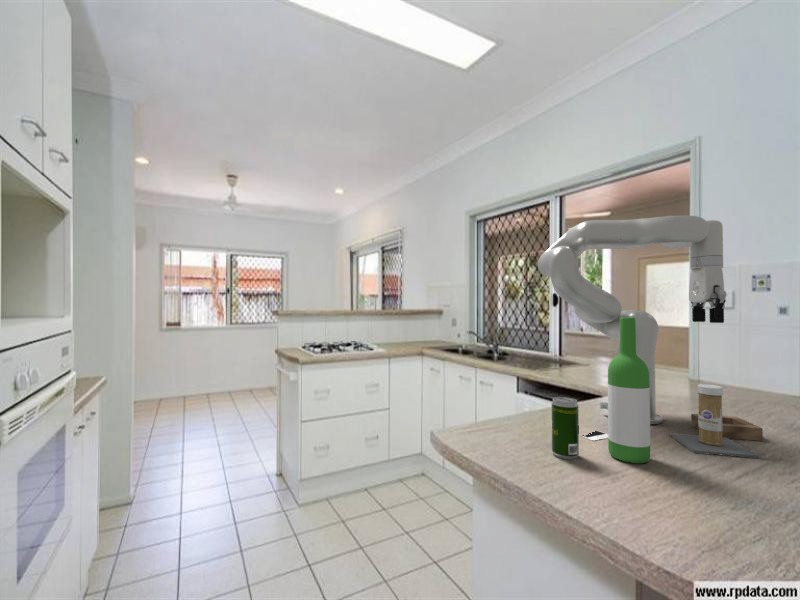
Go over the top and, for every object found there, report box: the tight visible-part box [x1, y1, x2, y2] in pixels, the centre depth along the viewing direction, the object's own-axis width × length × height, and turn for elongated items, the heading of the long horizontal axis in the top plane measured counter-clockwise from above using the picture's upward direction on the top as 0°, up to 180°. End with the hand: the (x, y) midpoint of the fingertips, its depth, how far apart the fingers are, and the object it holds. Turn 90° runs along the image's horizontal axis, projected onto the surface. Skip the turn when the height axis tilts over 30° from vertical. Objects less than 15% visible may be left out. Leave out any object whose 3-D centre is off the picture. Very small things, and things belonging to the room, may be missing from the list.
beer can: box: [551, 396, 580, 460], centre depth 83 cm, size 5×5×12 cm
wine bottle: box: [607, 318, 651, 464], centre depth 82 cm, size 8×8×30 cm
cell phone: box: [582, 430, 608, 442], centre depth 100 cm, size 8×16×1 cm, turn 25°
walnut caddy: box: [690, 413, 764, 441], centre depth 99 cm, size 10×10×3 cm
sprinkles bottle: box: [697, 383, 724, 446], centre depth 89 cm, size 5×5×13 cm
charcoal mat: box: [669, 433, 760, 459], centre depth 89 cm, size 12×12×1 cm
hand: (707, 322), depth 111 cm, fingers open, 9 cm apart
